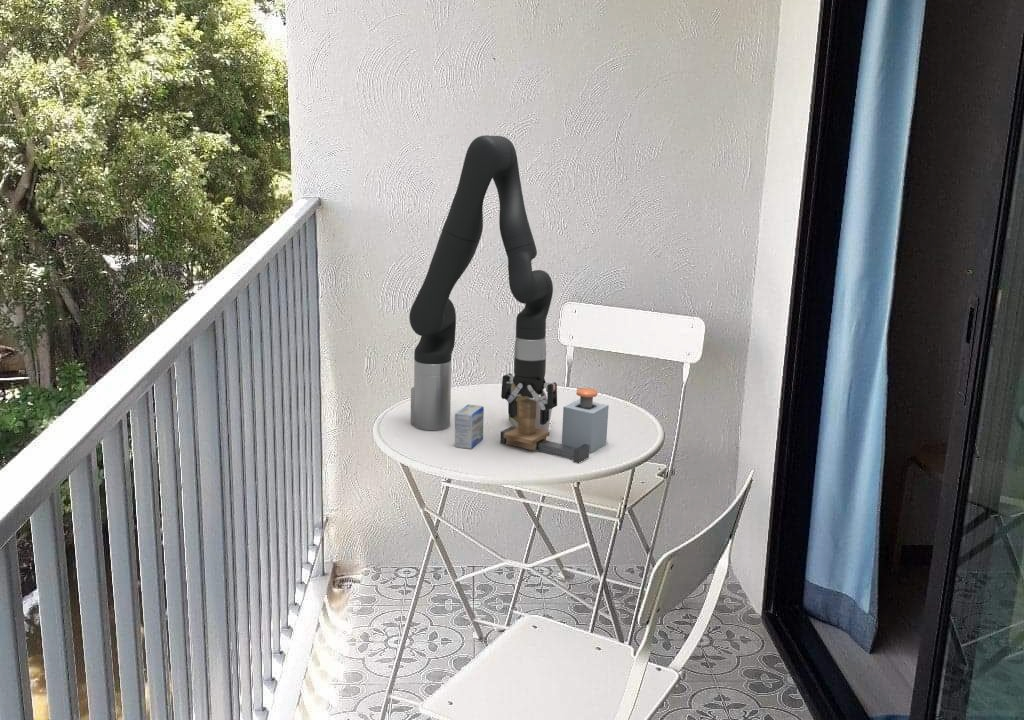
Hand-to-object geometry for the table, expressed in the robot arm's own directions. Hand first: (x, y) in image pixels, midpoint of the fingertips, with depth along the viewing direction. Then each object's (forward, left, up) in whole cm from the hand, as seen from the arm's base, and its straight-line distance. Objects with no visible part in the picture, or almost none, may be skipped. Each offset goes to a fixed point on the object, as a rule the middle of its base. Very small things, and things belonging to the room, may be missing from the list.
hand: (528, 420), depth 241 cm
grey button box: (+11, +9, -7) cm, 15 cm away
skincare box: (-10, +13, -7) cm, 18 cm away
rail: (+5, 0, -6) cm, 8 cm away
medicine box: (-12, -7, -7) cm, 16 cm away
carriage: (0, 0, -6) cm, 6 cm away
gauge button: (+11, +9, +1) cm, 14 cm away
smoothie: (-2, +10, -7) cm, 12 cm away
